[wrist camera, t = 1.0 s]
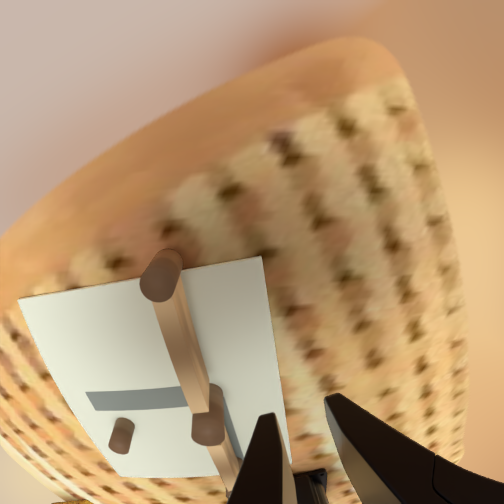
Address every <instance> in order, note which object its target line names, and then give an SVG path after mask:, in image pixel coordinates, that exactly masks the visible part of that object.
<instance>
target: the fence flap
mask: <svg viewBox="0 0 504 504" xmlns="http://www.w3.org/2000/svg"><path fill="white" fill-rule="evenodd" d="M182 268H183V260H182V258H181V256H180V255H179V253H177V252H176V251H174V250H172V249H163V250H161V251H159V252H158V253H157V254H156V256H155V257H154V259H153V260H152V261H151V263H150V264H149V266H148V267H147V269H146V270H145V272H144V273H143V274H142V276H141V278H140V283H139V285H140V290H141V292H142V294H143V295H144V296H145V297H146V298H147V299H149V300H150V301H152V304H153V307H154V310H155V313H156V317H157V320H158V323H159V326H160V329H161V332H162V335H163V338H164V341H165V344H166V347H167V350H168V353H169V356H170V359H171V361H172V364H173V367H174V370H175V372H176V375H177V378H178V380H179V383H180V386H181V388H182V391H183V393H184V396H185V398H186V401H187V403H188V406H189V408H190V411H191V413H192V414H194V413H203V412H209V376H208V373H207V370H206V367H205V363H204V360H203V357H202V353H201V350H200V347H199V343H198V340H197V336H196V333H195V329H194V325H193V322H192V318H191V314H190V311H189V307H188V303H187V299H186V295H185V292H184V288H183V284H182V280H181V275H180V274H181V271H182Z"/></svg>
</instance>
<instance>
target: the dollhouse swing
mask: <svg viewBox="0 0 504 504" xmlns="http://www.w3.org/2000/svg"><path fill="white" fill-rule="evenodd" d="M52 504H93V503H91V502H89V501H88V500H79V501H69V502H56V503H52Z"/></svg>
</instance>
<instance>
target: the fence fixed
mask: <svg viewBox="0 0 504 504" xmlns="http://www.w3.org/2000/svg"><path fill="white" fill-rule="evenodd" d="M134 429H135V425H134V423H133V422H132V421H131V420H129V419H127V418H124V417H120V418H117V419H116V422H115V425H114V428H113V431H112V434H111V437H110V440H109V444H108V447H109V448H110V449H111V450H112V451H113V452H115V453H117V454H122V455H125V454H128V453H129V449H130V445H131V441H132V437H133V433H134ZM191 438H192V440H193V441H194V442H196V443H197V444H199V445H203V446H206V447H207V449H208V451H209V454H210V456H211V458H212V460H213V462H214V464H215V466H216V468H217V470H218V472H219V474H220V476H221V478H222V480H223V482H224V484H225V486H226V497H227V498H228V499H229V496H230V494H231V491H232V488H233V486H234V483H235V481H236V478H237V475H238V473H239V470H240V467H241V465H242V462H243V460H242V459H241V458H239V457H236V455H235V453H234V450H233V447H232V444H231V442H230V439H229V436H228V433H227V431H226V428H225V425H224V403H223V391H222V389H221V388H220V387H219V386H218V385H216V384H213V383H209V412H203V413H194V414H192V429H191Z"/></svg>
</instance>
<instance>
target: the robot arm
mask: <svg viewBox="0 0 504 504" xmlns="http://www.w3.org/2000/svg"><path fill="white" fill-rule="evenodd" d="M324 404H325V411H326V418H327V421H328V425H329V427H330V430H331V433H332V436H333V439H334V442H335V445H336V448H337V450H338V453H339V456H340V459H341V462H342V464H343V467H344V469H345V471H346V473H347V475H348V477H349V479H350V481H351V483H352V485H353V487H354V489H355V491H356V492H357V494H358V496H359V498H360V500H361V502H362V504H504V483H502V482H498V481H495V480H492V479H489V478H486V477H484V476H481V475H478V474H476V473H473V472H471V471H468V470H466V469H463V468H461V467H459V466H457V465H456V464H454V463H452V462H450V461H448V460H446V459H444V458H443V457H441V456H439V455H436V456H435V453H434V452H432V451H430V450H429V449H427V448H425V447H423V446H422V445H420V444H418V443H417V442H415V441H413V440H412V439H410V438H409V437H407V436H405V435H404V434H402V433H400V432H399V431H397V430H396V429H394V428H392V427H391V426H389V425H388V424H386V423H384V422H383V421H381V420H380V419H378V418H377V417H375V416H374V415H372V414H370V413H369V412H367V411H366V410H364V409H363V408H361V407H360V406H358V405H357V404H355V403H354V402H352V401H351V400H349V399H348V398H346V397H345V396H343V395H342V394H340V393H335V394H332V395H329V396H326V397H325V398H324ZM326 485H327V472H326V470H325V469H321V470H317V471H314V472H309V473H305V474H301V475H297V476H293V474H292V470H291V466H290V462H289V459H288V455H287V451H286V447H285V444H284V440H283V436H282V433H281V429H280V426H279V423H278V420H277V417H276V414H275V413H274V412H270V413H266V414H262V415H260V416H259V417H258V420H257V423H256V426H255V428H254V431H253V434H252V437H251V440H250V443H249V445H248V448H247V451H246V454H245V456H244V459H243V462H242V465H241V467H240V470H239V473H238V475H237V478H236V481H235V483H234V486H233V488H232V491H231V494H230V496H229V499H228V501H227V504H329V502H328V499H327V496H326Z"/></svg>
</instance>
